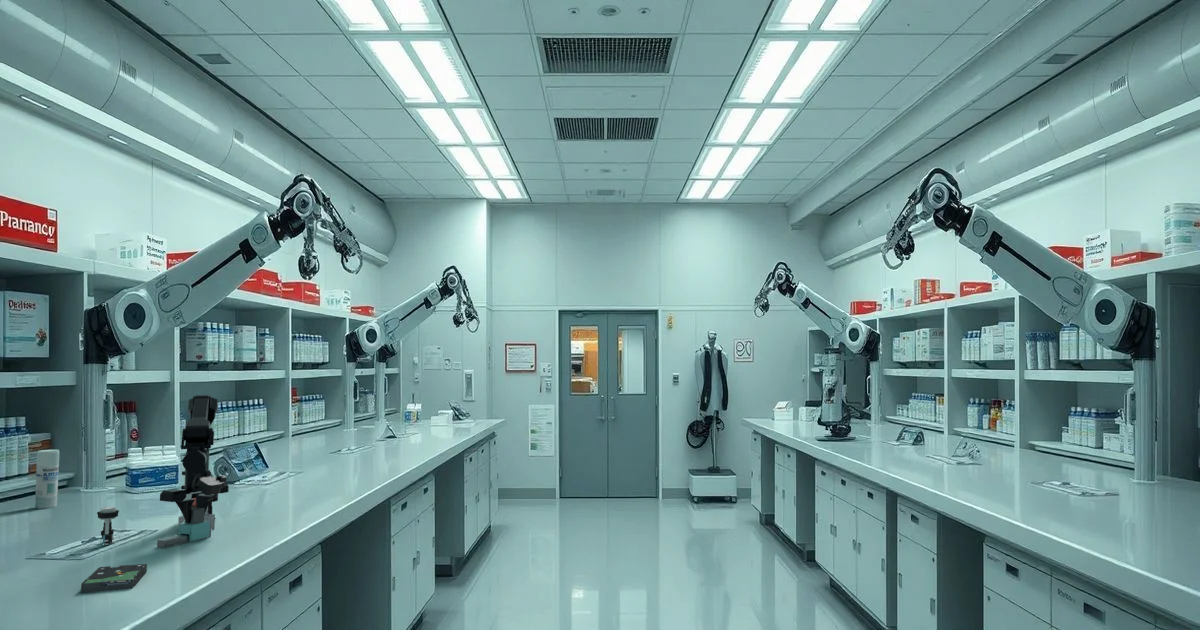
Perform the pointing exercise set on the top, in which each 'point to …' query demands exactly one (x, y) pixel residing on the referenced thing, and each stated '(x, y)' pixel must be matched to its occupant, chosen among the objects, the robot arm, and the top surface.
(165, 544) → the rail
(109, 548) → the top surface
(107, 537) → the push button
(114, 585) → the disk drive
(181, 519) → the grey piece
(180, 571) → the top surface
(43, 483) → the spray paint can
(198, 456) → the robot arm
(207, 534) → the carriage
